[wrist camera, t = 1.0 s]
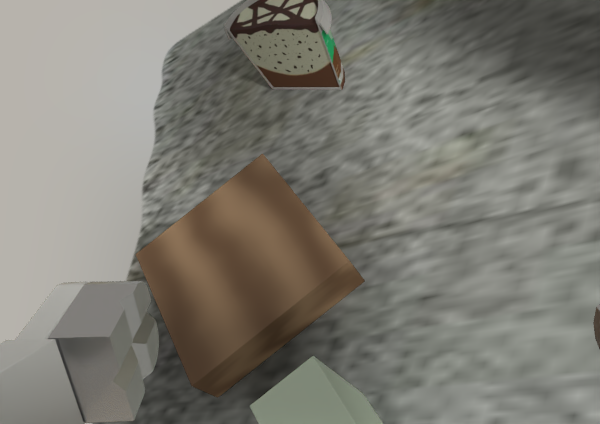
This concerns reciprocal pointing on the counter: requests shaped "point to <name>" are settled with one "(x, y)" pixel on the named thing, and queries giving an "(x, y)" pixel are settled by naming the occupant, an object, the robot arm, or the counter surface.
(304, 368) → the sage block
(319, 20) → the food container
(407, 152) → the counter surface
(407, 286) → the counter surface
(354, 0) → the counter surface
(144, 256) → the walnut base
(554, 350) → the counter surface
